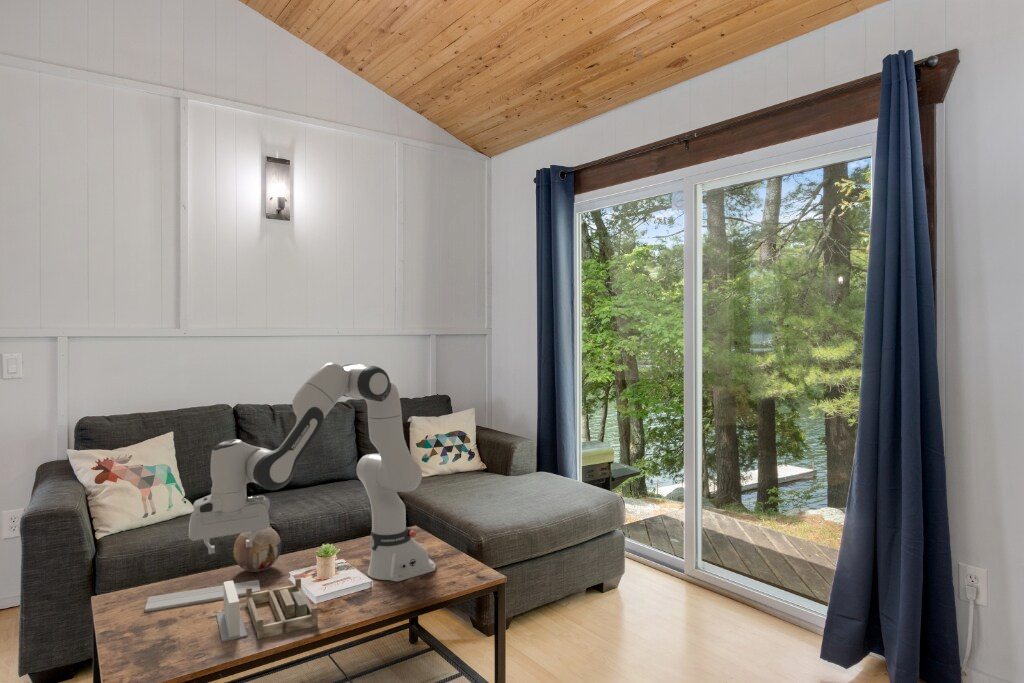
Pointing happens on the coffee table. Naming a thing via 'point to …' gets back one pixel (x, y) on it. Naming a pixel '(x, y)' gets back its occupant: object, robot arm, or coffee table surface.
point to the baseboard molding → (197, 596)
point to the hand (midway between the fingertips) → (230, 549)
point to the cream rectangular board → (231, 608)
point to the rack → (279, 612)
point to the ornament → (257, 550)
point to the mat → (224, 629)
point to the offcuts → (292, 603)
